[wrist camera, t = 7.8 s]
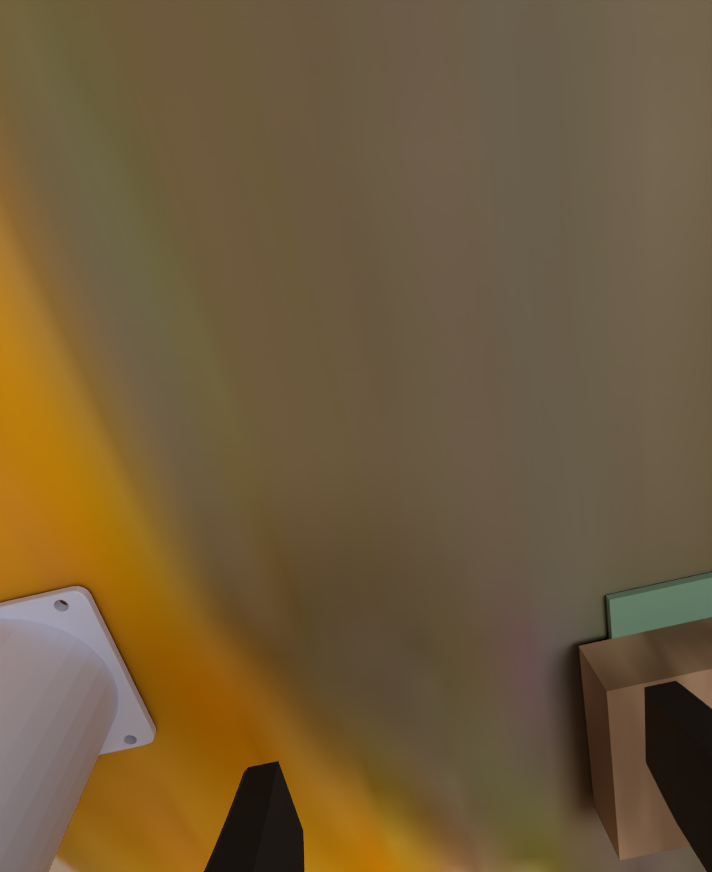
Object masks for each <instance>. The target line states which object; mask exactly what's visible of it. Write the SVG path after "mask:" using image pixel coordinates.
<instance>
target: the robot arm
mask: <svg viewBox="0 0 712 872" xmlns="http://www.w3.org/2000/svg"><path fill="white" fill-rule="evenodd" d="M59 600H63V601H66V602H67V603H68V605H64V604H62V603H61V602H60V601H59ZM644 695H645V750H646V764H647V766H648V768H649V770H650V772H651V774H652V776H653V778H654V780H655V782H656V784H657V786H658V788H659V790H660V792H661V794H662V796H663V798H664V800H665V802H666V804H667V806H668V808H669V810H670V811H671V813H672V815H673V817H674V819H675V821H676V823H677V825H678V826H679V828H680V829H681V831H682V833H683V834H684V836H685V837H686V839H687V841H688V842H689V844H690V845H691V847H692V849H693V850H694V852H695V853H696V855H697V857H698V858H699V860H700V861H701V863H702V864H703V866H704V868H705V869H706V871H707V872H712V708H710V707H709V706H708V705H707V704H705V703H704V702H703V701H702V700H700V699H699V698H698V697H697V696H695V695H694V694H693V693H692V692H690V691H689V690H688V689H687V688H685V687H684V686H683V685H681V684H680V683H678V682H677V681H672V682H667V683H662V684H657V685H652V686H647V687H644ZM155 734H156V727H155V725H154V723H153V721H152V719H151V717H150V715H149V713H148V711H147V709H146V707H145V705H144V702H143V700H142V698H141V696H140V694H139V692H138V690H137V688H136V686H135V684H134V682H133V680H132V678H131V676H130V674H129V672H128V670H127V667H126V665H125V663H124V661H123V659H122V657H121V655H120V653H119V651H118V649H117V647H116V645H115V643H114V641H113V639H112V637H111V635H110V632H109V630H108V628H107V626H106V624H105V622H104V620H103V618H102V616H101V614H100V612H99V610H98V608H97V606H96V604H95V602H94V600H93V598H92V595H91V594H90V592H89V591H88V590H87V589H85V588H84V587H80V586H72V587H67V588H63V589H59V590H54V591H50V592H45V593H41V594H37V595H32V596H28V597H23V598H19V599H14V600H10V601H6V602H1V603H0V872H49V869H50V867H51V865H52V862H53V860H54V858H55V855H56V853H57V851H58V848H59V846H60V844H61V841H62V839H63V837H64V834H65V832H66V830H67V827H68V825H69V823H70V821H71V818H72V816H73V814H74V811H75V809H76V807H77V804H78V802H79V800H80V797H81V795H82V793H83V790H84V788H85V786H86V783H87V781H88V779H89V776H90V774H91V772H92V769H93V767H94V765H95V762H96V760H97V758H98V756H99V755H102V754H107V753H111V752H116V751H120V750H125V749H130V748H134V747H139V746H143V745H147V744H150V743H151V742H152V741H153V740H154V737H155ZM130 735H132V736H130ZM204 872H304V842H303V829H302V826H301V823H300V821H299V818H298V815H297V812H296V809H295V807H294V804H293V801H292V798H291V795H290V793H289V790H288V787H287V784H286V781H285V779H284V776H283V773H282V770H281V767H280V765H279V762H278V761H277V762H272V763H267V764H262V765H257V766H252V767H248V768H247V769H246V771H245V772H244V774H243V776H242V779H241V782H240V784H239V787H238V790H237V792H236V795H235V798H234V800H233V803H232V806H231V808H230V811H229V813H228V816H227V818H226V821H225V823H224V826H223V828H222V831H221V833H220V836H219V838H218V840H217V843H216V845H215V848H214V850H213V852H212V855H211V857H210V859H209V862H208V864H207V866H206V868H205V871H204Z"/></svg>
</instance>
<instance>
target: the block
mask: <svg viewBox="0 0 712 872" xmlns="http://www.w3.org/2000/svg"><path fill="white" fill-rule="evenodd" d="M579 654H580V664H581V674H582V684H583V695H584V705H585V715H586V726H587V736H588V746H589V756H590V767H591V777H592V787H593V797H594V807H595V809H596V811H597V813H598V815H599V817H600V820H601V822H602V824H603V826H604V828H605V830H606V832H607V834H608V837H609V839H610V841H611V843H612V845H613V847H614V849H615V851H616V854H617V856H618V858H619V860H624V859H629V858H634V857H639V856H643V855H648V854H653V853H658V852H663V851H668V850H673V849H677V848H682V847H687V846H691V845H690V844H689V842H688V841H687V839H686V837H685V836H684V834H683V833H682V831H681V829H680V828H679V826H678V825H677V823H676V821H675V819H674V817H673V815H672V813H671V811H670V810H669V808H668V806H667V804H666V802H665V800H664V798H663V796H662V794H661V792H660V790H659V788H658V786H657V784H656V782H655V780H654V778H653V776H652V774H651V772H650V770H649V768H648V766H647V764H646V750H645V695H644V687H647V686H652V685H657V684H662V683H667V682H672V681H677V682H678V683H680V684H681V685H683V686H684V687H685V688H687V689H688V690H689V691H690V692H692V693H693V694H694V695H695V696H697V697H698V698H699V699H700V700H702V701H703V702H704V703H705V704H707V705H708V706H709V707H710V708H712V617H709V618H705V619H700V620H695V621H691V622H686V623H682V624H677V625H672V626H668V627H663V628H659V629H654V630H649V631H645V632H640V633H636V634H631V635H626V636H622V637H617V638H613V639H608V640H603V641H599V642H594V643H590V644H585V645H581V646H579Z"/></svg>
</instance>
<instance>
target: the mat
mask: <svg viewBox="0 0 712 872" xmlns="http://www.w3.org/2000/svg"><path fill="white" fill-rule="evenodd" d="M606 605H607V619H608V633H609V639H613V638H617V637H622V636H626V635H631V634H636V633H640V632H645V631H649V630H654V629H659V628H663V627H668V626H672V625H677V624H682V623H686V622H691V621H695V620H700V619H705V618H709V617H712V572H710V573H705V574H701V575H696V576H691V577H687V578H682V579H678V580H673V581H669V582H664V583H660V584H655V585H651V586H646V587H641V588H637V589H632V590H628V591H623V592H619V593H614V594H610V595H606Z"/></svg>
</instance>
